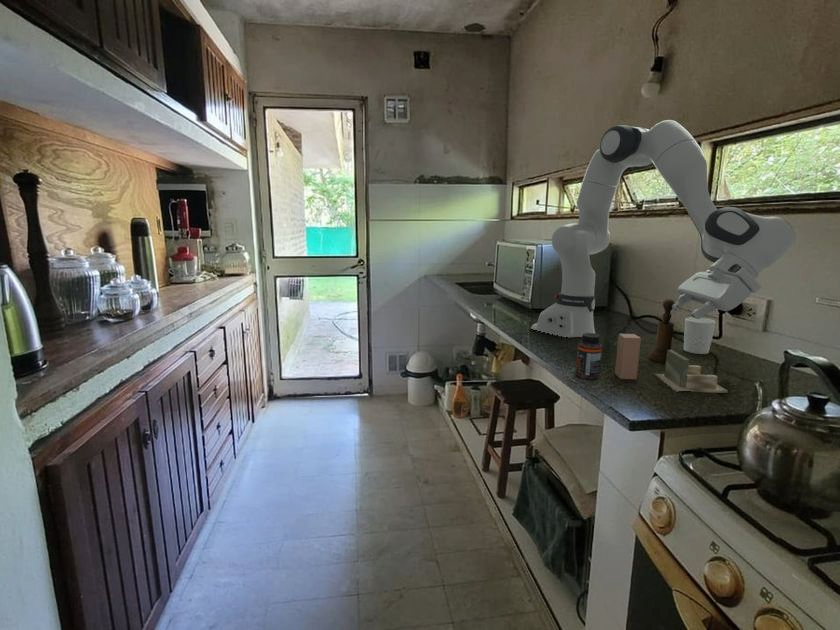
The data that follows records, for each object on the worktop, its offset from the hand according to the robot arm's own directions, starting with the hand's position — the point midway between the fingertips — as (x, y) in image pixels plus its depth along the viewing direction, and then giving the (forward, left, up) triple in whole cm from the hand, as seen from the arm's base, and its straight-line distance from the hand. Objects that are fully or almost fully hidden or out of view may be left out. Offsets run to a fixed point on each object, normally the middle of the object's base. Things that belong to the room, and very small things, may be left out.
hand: (683, 312), depth 110 cm
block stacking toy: (+3, -3, -17) cm, 18 cm away
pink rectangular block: (-11, -7, -17) cm, 21 cm away
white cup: (+1, +31, -17) cm, 36 cm away
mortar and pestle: (-6, +15, -17) cm, 24 cm away
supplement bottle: (-19, -13, -17) cm, 29 cm away
